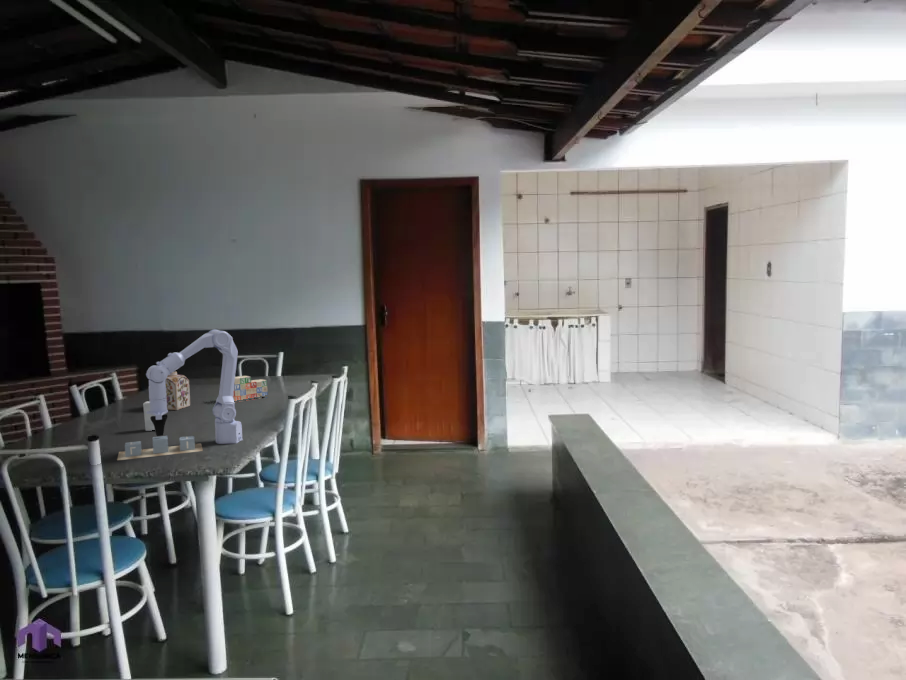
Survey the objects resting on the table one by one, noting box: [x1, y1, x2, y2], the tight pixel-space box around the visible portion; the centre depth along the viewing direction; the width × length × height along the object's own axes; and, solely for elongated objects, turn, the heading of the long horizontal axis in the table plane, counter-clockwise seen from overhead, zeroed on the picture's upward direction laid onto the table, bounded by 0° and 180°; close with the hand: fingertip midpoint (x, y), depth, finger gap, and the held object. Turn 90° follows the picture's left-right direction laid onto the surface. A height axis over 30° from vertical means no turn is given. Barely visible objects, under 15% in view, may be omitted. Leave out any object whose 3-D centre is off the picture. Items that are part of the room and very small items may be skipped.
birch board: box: [116, 443, 203, 461], centre depth 239 cm, size 28×12×1 cm, turn 114°
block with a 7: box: [124, 440, 142, 457], centre depth 235 cm, size 5×5×4 cm
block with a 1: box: [179, 435, 196, 451], centre depth 242 cm, size 5×5×4 cm
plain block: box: [152, 435, 169, 454], centre depth 239 cm, size 5×5×5 cm
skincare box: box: [142, 401, 155, 432], centre depth 276 cm, size 6×4×12 cm
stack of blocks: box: [233, 375, 269, 401], centre depth 343 cm, size 21×6×12 cm, turn 133°
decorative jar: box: [165, 371, 191, 411], centre depth 323 cm, size 12×12×18 cm
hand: (159, 435), depth 238 cm, fingers closed
